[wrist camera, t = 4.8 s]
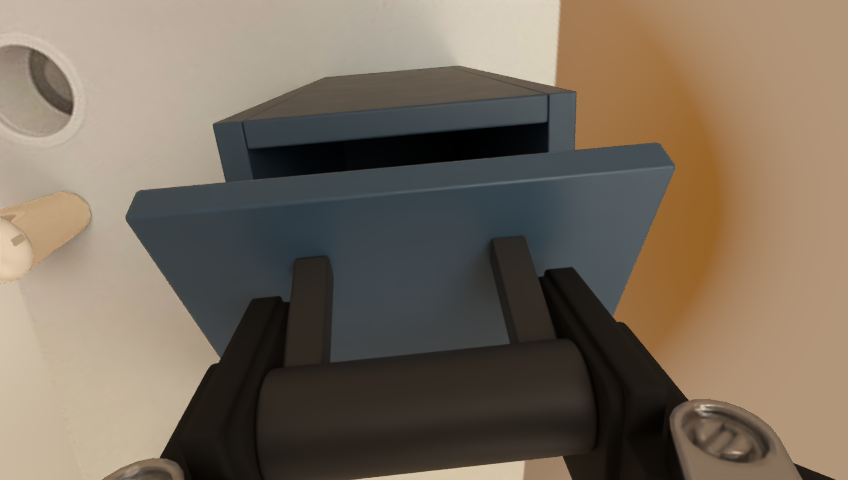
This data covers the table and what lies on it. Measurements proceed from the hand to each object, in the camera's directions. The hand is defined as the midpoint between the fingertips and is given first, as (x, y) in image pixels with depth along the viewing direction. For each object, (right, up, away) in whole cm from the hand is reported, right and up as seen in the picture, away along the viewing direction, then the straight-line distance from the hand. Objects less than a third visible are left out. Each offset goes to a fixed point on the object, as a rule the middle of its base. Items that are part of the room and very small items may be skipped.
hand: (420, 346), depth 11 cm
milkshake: (-27, +5, +29) cm, 40 cm away
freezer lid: (0, 0, +3) cm, 3 cm away
